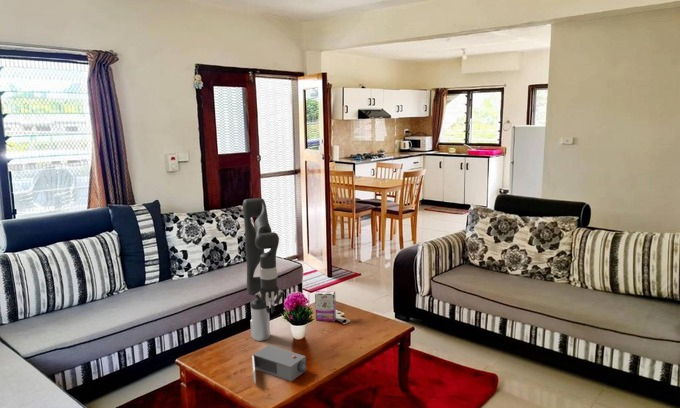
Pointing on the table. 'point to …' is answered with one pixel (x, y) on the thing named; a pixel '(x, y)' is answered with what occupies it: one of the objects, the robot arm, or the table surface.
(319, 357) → the table surface
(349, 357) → the table surface
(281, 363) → the camera box
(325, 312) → the candy bar box
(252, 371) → the side door
